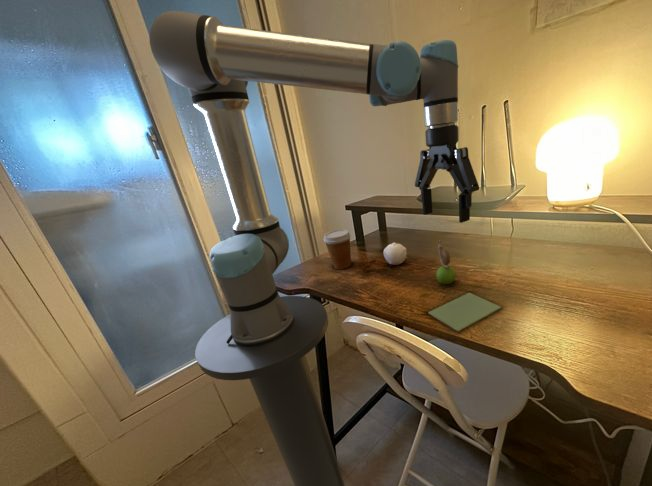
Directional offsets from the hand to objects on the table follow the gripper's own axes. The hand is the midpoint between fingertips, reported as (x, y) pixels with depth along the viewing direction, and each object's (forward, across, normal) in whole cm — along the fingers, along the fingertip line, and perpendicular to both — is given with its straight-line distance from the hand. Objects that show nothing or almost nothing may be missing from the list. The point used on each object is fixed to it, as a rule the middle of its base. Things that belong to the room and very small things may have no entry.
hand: (444, 217), depth 78 cm
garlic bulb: (+19, +22, +2) cm, 30 cm away
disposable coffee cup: (+19, +36, +16) cm, 44 cm away
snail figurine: (+19, 0, 0) cm, 19 cm away
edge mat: (+19, -14, +8) cm, 25 cm away
